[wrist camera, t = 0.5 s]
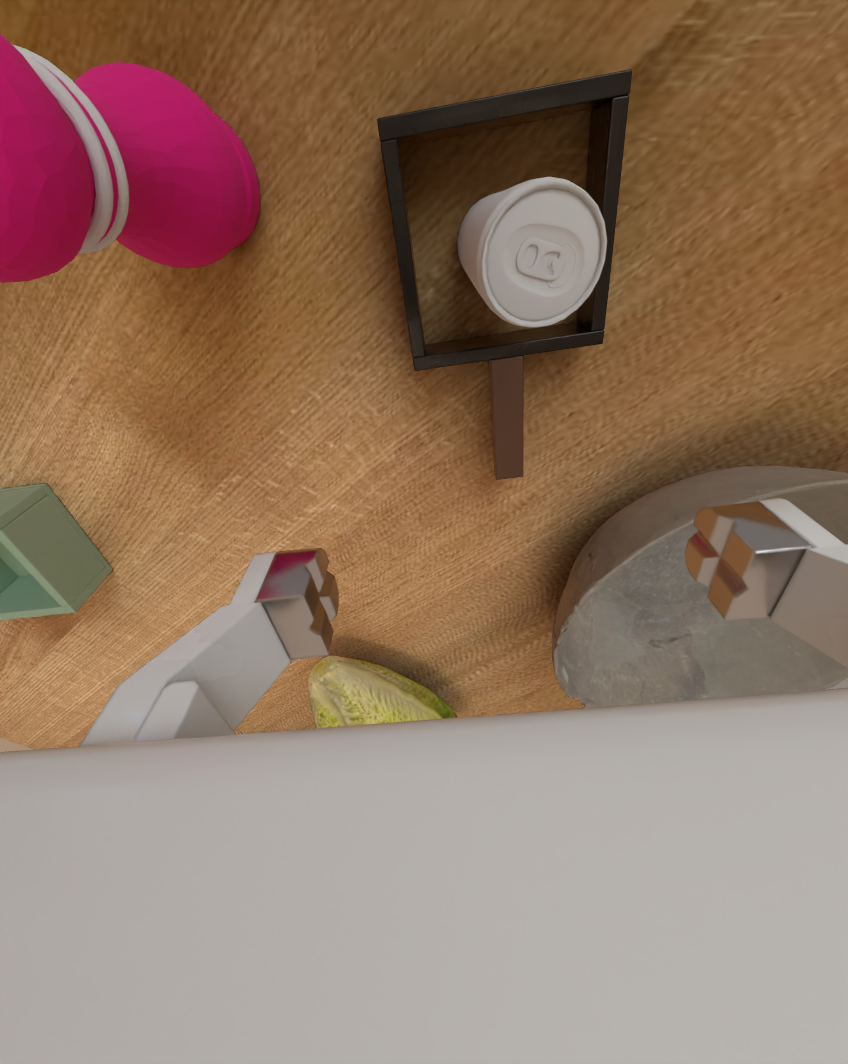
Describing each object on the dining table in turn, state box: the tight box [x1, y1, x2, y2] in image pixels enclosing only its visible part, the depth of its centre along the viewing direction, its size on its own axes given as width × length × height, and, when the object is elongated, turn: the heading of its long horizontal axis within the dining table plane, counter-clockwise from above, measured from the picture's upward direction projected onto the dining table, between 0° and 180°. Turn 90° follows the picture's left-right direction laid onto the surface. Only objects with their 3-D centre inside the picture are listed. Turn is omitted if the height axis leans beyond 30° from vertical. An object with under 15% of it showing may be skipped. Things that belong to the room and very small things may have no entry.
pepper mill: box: [0, 34, 260, 283], centre depth 15 cm, size 7×7×20 cm
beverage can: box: [457, 177, 607, 328], centre depth 20 cm, size 5×5×12 cm
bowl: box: [552, 465, 848, 708], centre depth 36 cm, size 28×28×10 cm
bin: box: [0, 483, 113, 620], centre depth 36 cm, size 10×10×6 cm
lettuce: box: [308, 655, 457, 728], centre depth 48 cm, size 13×22×14 cm
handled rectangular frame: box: [377, 69, 632, 480], centre depth 26 cm, size 20×12×3 cm, turn 8°
